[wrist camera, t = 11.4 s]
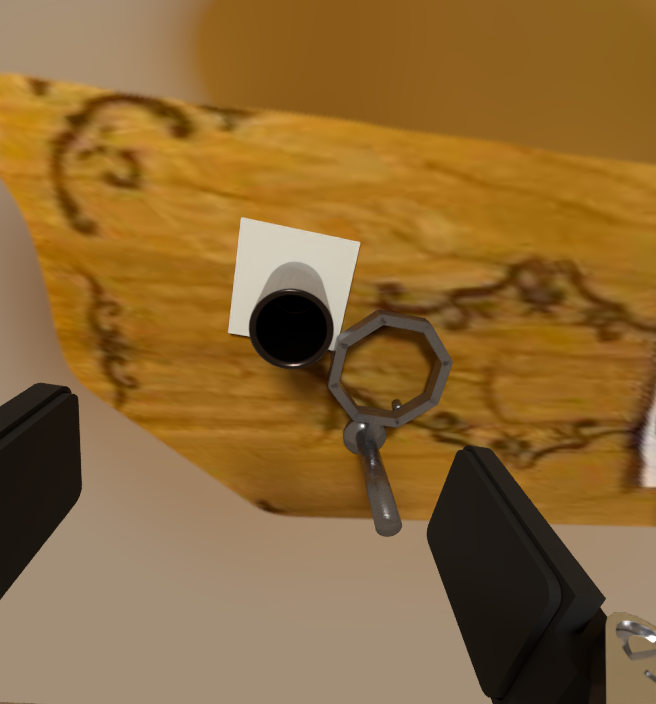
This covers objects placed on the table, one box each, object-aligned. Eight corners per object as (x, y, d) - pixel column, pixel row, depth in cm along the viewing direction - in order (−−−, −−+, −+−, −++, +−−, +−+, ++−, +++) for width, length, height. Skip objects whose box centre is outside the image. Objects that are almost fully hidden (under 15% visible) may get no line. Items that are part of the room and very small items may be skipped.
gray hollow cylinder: (288, 328, 30) (282, 384, 20) (254, 282, 29) (230, 320, 19) (334, 297, 29) (350, 341, 20) (302, 249, 28) (302, 270, 18)
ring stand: (451, 320, 31) (523, 374, 21) (406, 457, 36) (446, 554, 26) (342, 299, 30) (362, 346, 20) (310, 444, 35) (313, 541, 25)
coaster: (359, 241, 28) (360, 242, 28) (335, 348, 32) (335, 350, 31) (242, 217, 27) (241, 217, 27) (229, 330, 30) (228, 332, 30)
